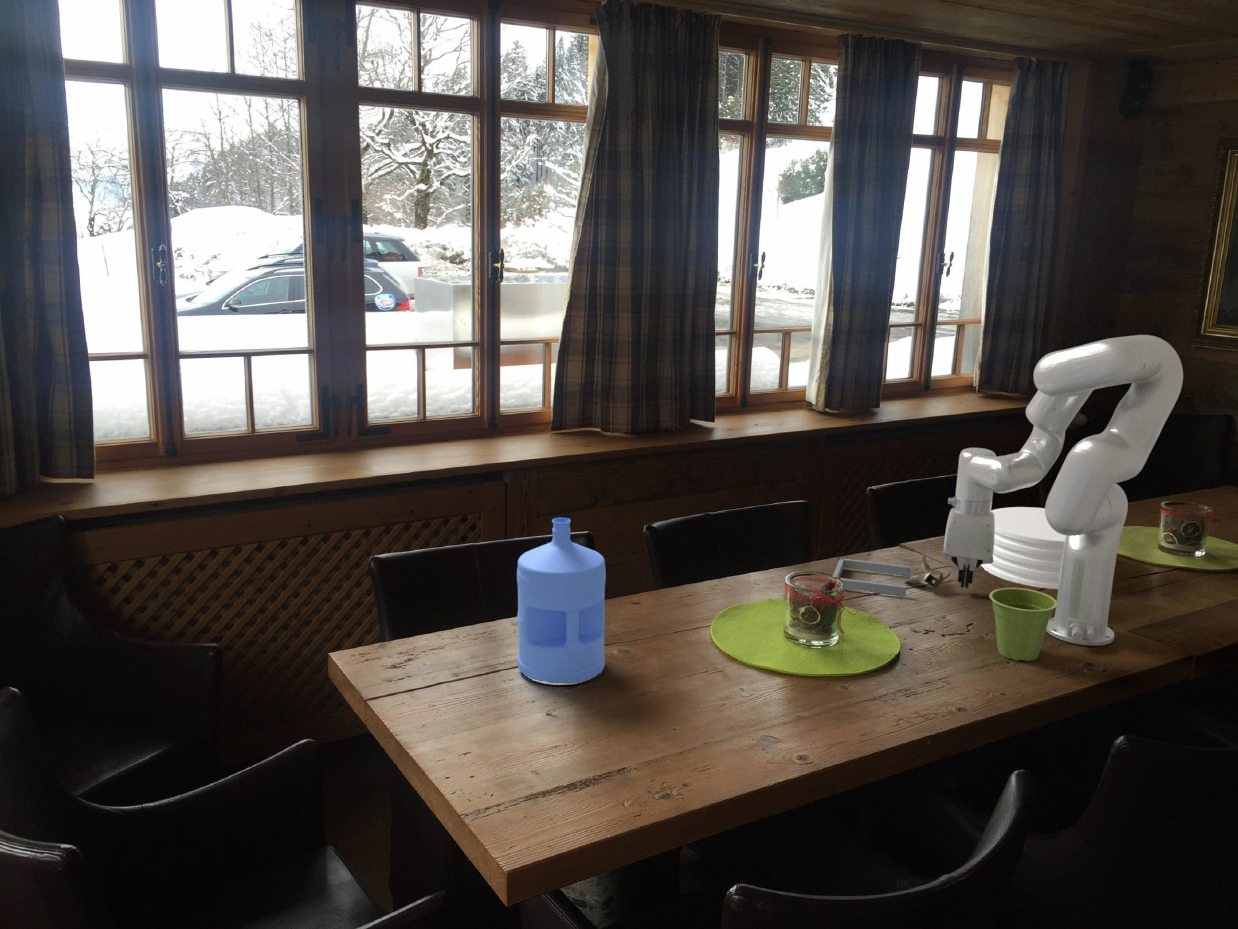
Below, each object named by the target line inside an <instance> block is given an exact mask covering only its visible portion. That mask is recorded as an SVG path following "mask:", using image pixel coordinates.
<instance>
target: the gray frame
mask: <svg viewBox="0 0 1238 929" xmlns="http://www.w3.org/2000/svg"><path fill="white" fill-rule="evenodd" d="M843 567H846V568H854V569H860V570H870V571H875V572H879V573H887V574H895V575H902V576H906V577H910V578H911V567H912V566H911V565H910V566H908V565H901V564H893V563H884V562H876V561H869V560H868V561H867V560H858V559H849V558H843V557H840V558H839V560H838V562H837V565H836V567H835V569H834V570H833V574H832V577H837V578H839V575H840V574H841V572H842V570H843ZM843 571H844V570H843ZM842 573H843V572H842ZM841 575H842V574H841ZM832 577H831V578H832ZM840 579H841V580H842V581H843V582H844V583H845V585H846V590H847V588H849V589H858V590H864V591H869V592H873V593H881V594H887V595H895V596H899V597H905V596H906V595H907V585H900V584H890V583H883V582H873V581H867V580H858V579H853V578H852V579H850V578H843V577H840ZM905 598H906V597H905Z"/></svg>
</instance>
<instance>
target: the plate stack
mask: <svg viewBox="0 0 1238 929" xmlns="http://www.w3.org/2000/svg"><path fill="white" fill-rule="evenodd" d="M991 512H993V513H994V518H995V539H994V551H993V563H991V564H982V565H980V567H981V566H982V567H983V568H984V570H985V571H986V572H987V571H988V572H987V573H989V574H991V575H992V576H996V577H998V578H1000V579H1002V580H1006V581H1008V582H1012V583H1016V584H1019V583H1020V584H1019V585H1024V586H1029V587H1034V588H1035V587H1036V588H1041V589H1042V588H1043V589H1053V590H1058V587H1059V579H1060V570H1061V562H1062V555H1063V547H1064V542H1065V538H1066V535H1062V534H1060V533H1058V532H1056V531H1055V530H1053V529H1052V527H1051V526H1050V525H1049V523H1048V521H1047V519H1046V514H1045V507H1043V508H1042V507H1031V506H1030V507H1029V506H1027V507H1026V506H1015V507H1014V506H1012V507H1003V508H1002V507H1001V508H995V509H991ZM982 567H981V568H982ZM983 568H982V569H983Z"/></svg>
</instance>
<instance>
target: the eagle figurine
mask: <svg viewBox="0 0 1238 929" xmlns="http://www.w3.org/2000/svg"><path fill="white" fill-rule="evenodd" d="M921 559H922V560H921V570H922V572H923V573H924V574H923V575H913V576H910V578H907V580H905V581H904V582H905V583H913V584H918V583H920V582H921V583H924V582H925V583H927V584H928V585H929V586H930V587H933V592H936V593H937V590H938V588H939V586H940V585H941V583H942V582H943V581H945V580H946V579H947V578H949V576H951V575H952V574H951V573H952V572H948V573H947V574H946V575H945V576H944V574H943V573H942V572H940V573H939V575H938V577H935V576H933V575H932V573H931V572H932V571H931V567H930V564H929V563H927V556H926V555H923V556H922V558H921ZM933 582H935V583H933Z"/></svg>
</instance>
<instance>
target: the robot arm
mask: <svg viewBox="0 0 1238 929" xmlns="http://www.w3.org/2000/svg"><path fill="white" fill-rule="evenodd" d="M1183 381H1184V370H1183V365H1182V362H1181V359H1180V356H1179V354H1178V353H1177V351H1176V350H1175V349H1174V347H1173V346H1172V345H1171V344H1170V343H1169V342H1168V341H1166V340H1164V339H1162V338H1161V337H1157V336H1155V335H1149V334H1137V335H1136V334H1135V335H1129V336H1119V337H1118V336H1117V337H1112V338H1111V337H1110V338H1106V339H1105V338H1104V339H1102V340H1097V341H1093V342H1089V343H1085V344H1082V345H1078V346H1074V347H1070V348H1066V349H1060V350H1055V351H1052V352H1049V353H1047V354H1045V355H1044V356H1042V358H1040V360H1038V362H1037V363H1036V365H1035V367H1034V370H1033V383H1034V385H1035V387H1036V389H1037V391H1036V393H1035V394H1034V396H1033V397H1032V399H1031V400H1030V402H1029V403H1028V404H1027V406H1026V408H1025V416H1026V418H1027V419H1028V421H1029V423H1031V424H1032V425H1033V428H1032V432H1031V433H1030V435H1029V437H1028V439H1027V440H1026V442H1025V443H1024V445H1023V446H1022V447H1021V449H1020V450H1019V451H1018V452H1015V453H1011V454H1010V453H1009V454H1006V455H999V456H997V455H996V452H994V451H993V450H990V449H987V448H983V447H981V448H980V447H967V448H963V449H962V450H961V451H960V454H959V457H958V464H957V465H958V467H957V476H956V477H957V478H956V487H955V496H953V497H948V499H947V504H948V505H951V506H952V508H951V509H950V510H949V514H948V518H947V521H946V522H947V523H946V526H945V527H946V528H945V534H944V540H943V541H944V542H943V550H942V553H941V558H943V559H946V560H949V561H951V562H953V563H954V564H955V566H956V567H957V569H958V575H957V577H958V578H957V583H960V588H966V589H969V584H973V579H974V571H975V570H976V569H977V568H979V567H981V565H982V564H991V563H993V551H994V539H995V518H994V513H993V512H991V511H992V505H993V495H994V493H997V494H1006V493H1011V492H1015V491H1017V490H1021V489H1025V488H1031V487H1033V486H1035V485H1036V484H1038V483H1039V482H1040V481H1042V480H1043V478H1044V477H1046V475H1047V474H1048V472H1049V471H1050V470H1051V468H1052V467H1053V465H1054V464H1055V463H1056V461H1057V459H1058V458H1059V456H1060V455H1061V452H1062V450H1063V447H1064V442H1065V439H1066V438H1065V436H1066V430H1067V429H1068V427H1069V426H1070V424H1071V422H1072V421H1073V420H1074V419H1075V417H1076V415H1077V414H1078V412H1079V411H1080V409H1081V408H1082V407H1083V406H1084V405H1085V402H1086V401H1087V400H1088V399H1089V397H1090V395H1091V394H1092V393H1093V391H1094V390H1097V389H1098V390H1099V389H1102V388H1107V387H1109V388H1110V387H1114V386H1119V385H1125V384H1131V385H1130V387H1129V389H1128V390H1127V392H1126V393H1125V395H1124V396H1123V397H1122V398H1121V400H1120V401H1119V403H1117V406H1116V408H1115V410H1114V412H1113V414H1112V417H1111V418H1110V421H1109V422H1108V424H1107V426H1106V428H1105V429H1104V430H1103V431H1102V432H1101V433H1098V434H1093V435H1090V436H1087V437H1085V438H1083V439H1081V440H1080V441H1078V442H1076V444H1074V446H1073V447H1072V448H1071V449H1070V451H1069V452H1068V453H1067V455H1066V458H1065V459H1064V462H1063V464H1062V465H1061V468H1060V470H1059V472H1058V474H1057V477H1056V479H1055V480H1054V482H1053V485H1052V486H1051V489H1050V491H1049V493H1048V495H1047V499H1046V501H1045V506H1044V508H1045V514H1046V519H1047V521H1048V523H1049V525H1050V526H1051V527H1052V529H1053V530H1055V531H1056V532H1058V533H1060V534H1062V535H1066V538H1065V542H1064V547H1063V555H1062V562H1061V570H1060V579H1059V587H1058V589H1057V596H1056V601H1057V603H1058V605H1057V607H1056V608H1055V611H1054V612H1055V614H1054V617H1051V618H1050V619H1049V622H1048V625H1047V628H1046V632H1047V633H1048V634H1049V635H1050V636H1052V637H1053V638H1055V639H1058V640H1061V641H1063V642H1066V643H1071V644H1075V645H1079V646H1089V647H1092V646H1094V647H1098V646H1100V647H1101V646H1106V645H1109V644H1111V643H1113V641H1114V639H1115V632H1114V630H1112V629H1111V627H1109V626H1108V620H1109V613H1110V605H1111V598H1112V592H1113V591H1112V590H1113V583H1114V577H1115V576H1114V575H1115V568H1116V563H1117V562H1116V561H1117V555H1118V549H1119V544H1120V539H1121V535H1122V532H1123V528H1124V525H1125V522H1126V518H1127V515H1128V509H1129V506H1128V505H1129V504H1128V498H1127V495H1126V493H1125V491H1124V489H1123V488H1122V487H1121V486H1120V485H1119V484H1118V483H1121V482H1125V481H1128V480H1130V479H1132V478H1135V477H1137V475H1138V474H1139V473H1140V472H1141V471H1142V470H1143V468H1144V466H1145V464H1146V462H1147V460H1148V459H1149V457H1150V456H1149V455H1150V454H1151V452H1152V450H1153V448H1154V446H1155V445H1156V443H1157V440H1158V438H1159V436H1160V434H1161V432H1162V429H1163V428H1164V425H1165V423H1166V422H1167V420H1168V418H1169V417H1170V414H1171V412H1172V410H1173V408H1174V406H1175V404H1176V402H1177V401H1178V399H1179V396H1180V393H1181V390H1182V386H1183ZM964 559H970V561H969V564H967V567H966V564H965V560H964Z"/></svg>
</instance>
